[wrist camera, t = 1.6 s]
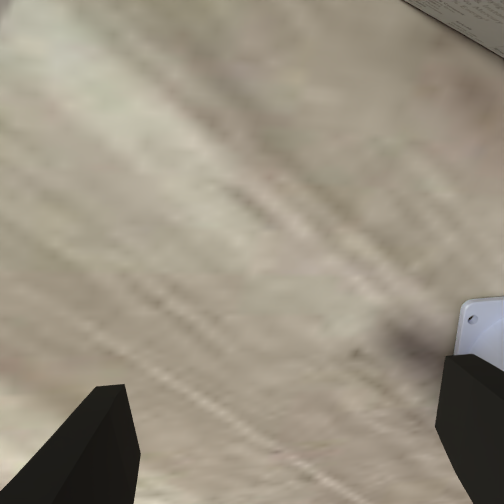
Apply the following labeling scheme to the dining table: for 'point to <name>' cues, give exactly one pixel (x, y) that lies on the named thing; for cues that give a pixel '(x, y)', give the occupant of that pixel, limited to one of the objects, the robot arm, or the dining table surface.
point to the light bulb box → (470, 19)
